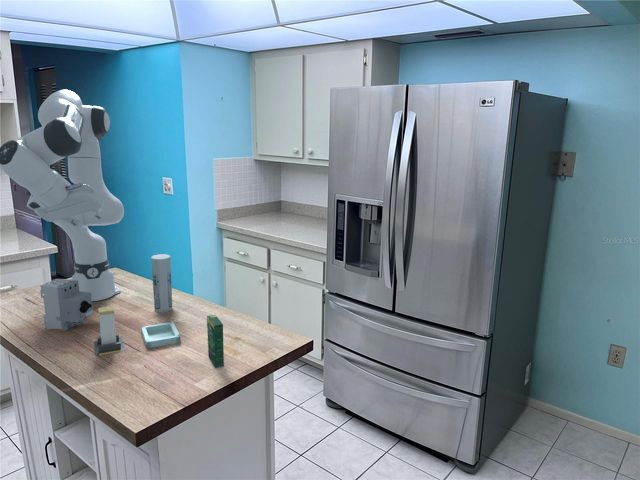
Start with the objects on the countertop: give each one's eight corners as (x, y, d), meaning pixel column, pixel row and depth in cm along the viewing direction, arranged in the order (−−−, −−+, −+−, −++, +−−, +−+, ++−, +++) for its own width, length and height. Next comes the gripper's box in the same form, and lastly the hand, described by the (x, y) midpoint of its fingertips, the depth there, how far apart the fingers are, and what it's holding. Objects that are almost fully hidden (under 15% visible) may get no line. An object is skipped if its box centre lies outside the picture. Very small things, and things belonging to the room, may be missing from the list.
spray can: (152, 306, 174) (149, 255, 170) (171, 304, 177) (168, 253, 173) (155, 313, 169) (152, 259, 164) (174, 310, 172) (171, 258, 167)
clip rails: (93, 343, 145) (93, 335, 144) (121, 338, 149) (121, 331, 148) (95, 357, 137) (94, 349, 136) (125, 352, 140) (124, 344, 140)
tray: (141, 334, 152) (141, 326, 152) (173, 328, 157) (173, 321, 156) (146, 350, 142) (146, 342, 141) (180, 344, 146) (180, 336, 146)
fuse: (101, 344, 143) (98, 308, 140) (116, 342, 145) (113, 306, 142) (102, 349, 140) (98, 312, 137) (116, 347, 142) (114, 310, 139)
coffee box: (207, 356, 140) (206, 315, 136) (216, 354, 141) (216, 313, 138) (214, 368, 133) (213, 325, 130) (224, 366, 134) (223, 324, 131)
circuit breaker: (83, 333, 151) (78, 289, 148) (44, 328, 154) (39, 285, 150) (98, 324, 158) (94, 282, 155) (61, 319, 161) (56, 278, 157)
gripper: (86, 173, 130) (120, 204, 140) (30, 191, 135) (66, 219, 146) (79, 190, 126) (114, 220, 136) (21, 207, 131) (59, 236, 142)
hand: (89, 220), depth 141 cm, fingers open, 8 cm apart
